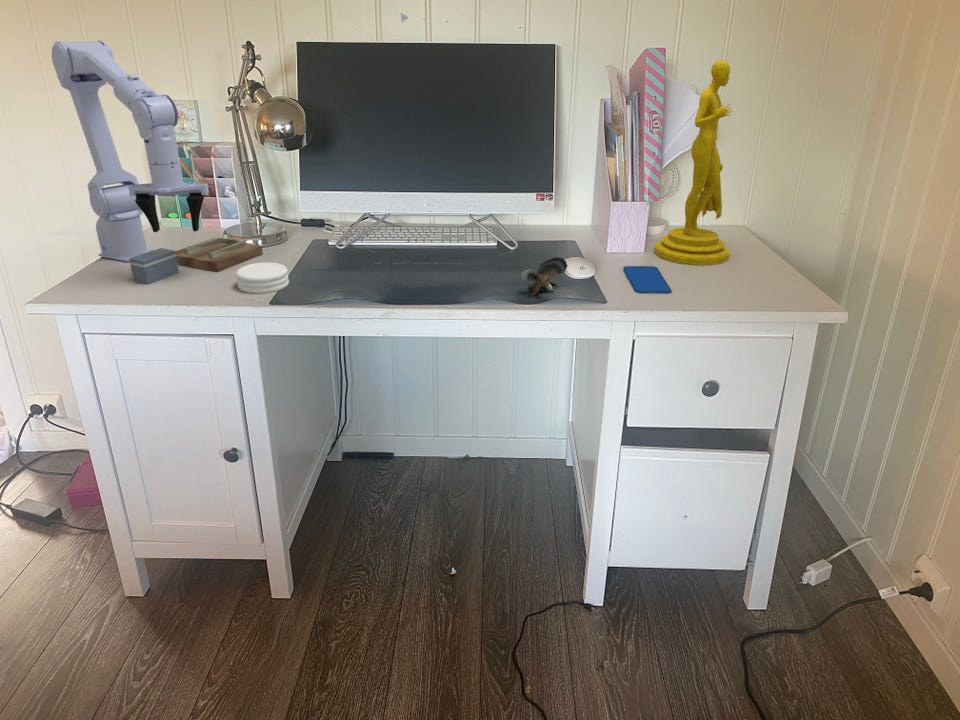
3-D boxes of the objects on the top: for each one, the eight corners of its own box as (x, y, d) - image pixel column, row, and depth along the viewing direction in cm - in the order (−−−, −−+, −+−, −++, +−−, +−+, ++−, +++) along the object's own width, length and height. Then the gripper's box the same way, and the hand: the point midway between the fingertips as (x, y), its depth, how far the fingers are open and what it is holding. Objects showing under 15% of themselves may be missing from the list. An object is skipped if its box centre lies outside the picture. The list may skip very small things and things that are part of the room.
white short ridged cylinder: (230, 284, 143) (228, 267, 142) (277, 274, 149) (275, 258, 147) (249, 298, 136) (246, 281, 134) (297, 287, 141) (295, 271, 140)
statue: (719, 270, 153) (753, 63, 135) (644, 257, 160) (666, 60, 142) (736, 250, 166) (768, 60, 148) (665, 239, 173) (688, 57, 155)
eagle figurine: (560, 295, 135) (576, 273, 141) (541, 264, 133) (557, 244, 139) (530, 308, 140) (546, 286, 146) (510, 279, 138) (528, 258, 144)
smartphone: (635, 291, 139) (622, 266, 153) (635, 296, 140) (621, 270, 153) (672, 291, 139) (656, 266, 152) (672, 296, 140) (655, 270, 153)
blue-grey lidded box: (133, 282, 144) (128, 258, 141) (165, 270, 150) (160, 247, 148) (148, 285, 142) (143, 261, 140) (179, 273, 149) (175, 250, 146)
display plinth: (169, 262, 154) (166, 249, 153) (216, 246, 166) (214, 233, 165) (218, 271, 149) (215, 258, 148) (262, 254, 161) (261, 241, 159)
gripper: (118, 166, 132) (132, 237, 138) (198, 165, 134) (209, 235, 140) (129, 159, 139) (143, 227, 145) (206, 158, 141) (216, 225, 147)
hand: (176, 230), depth 143 cm, fingers open, 7 cm apart
